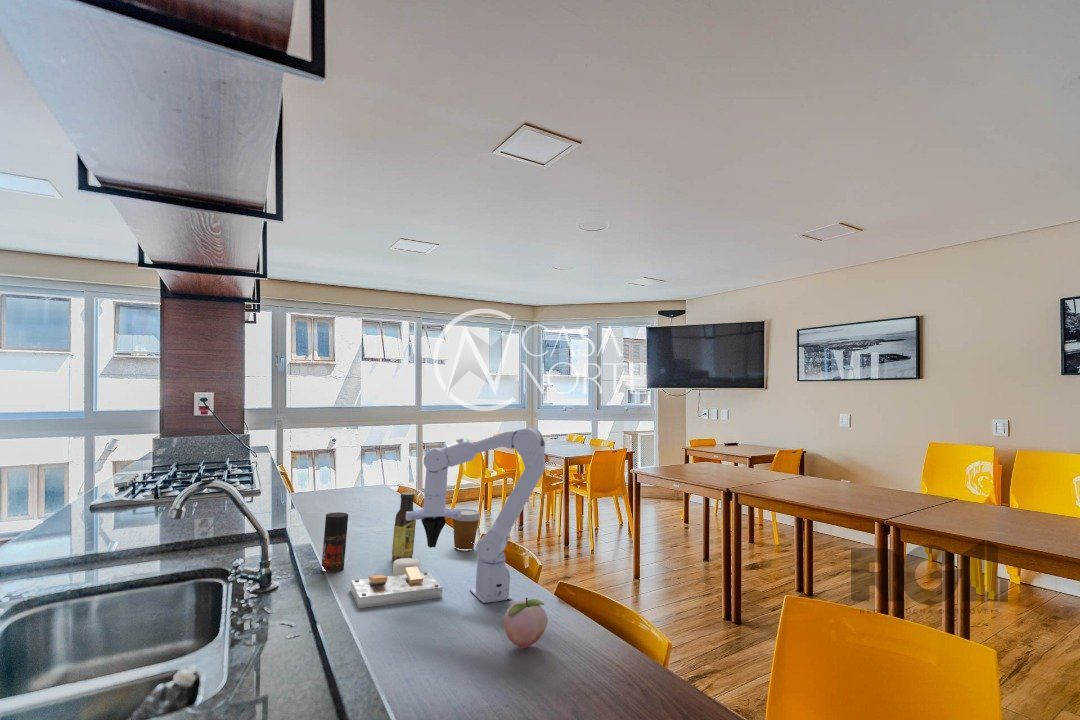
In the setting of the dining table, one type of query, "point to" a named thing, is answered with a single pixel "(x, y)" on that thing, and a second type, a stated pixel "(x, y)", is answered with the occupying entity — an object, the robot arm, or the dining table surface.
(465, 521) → the disposable coffee cup
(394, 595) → the breaker panel
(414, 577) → the paddle
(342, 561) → the deodorant
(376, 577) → the paddle
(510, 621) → the decorative fruit
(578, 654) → the dining table surface
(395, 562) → the white egg-shaped stone
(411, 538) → the sauce bottle
